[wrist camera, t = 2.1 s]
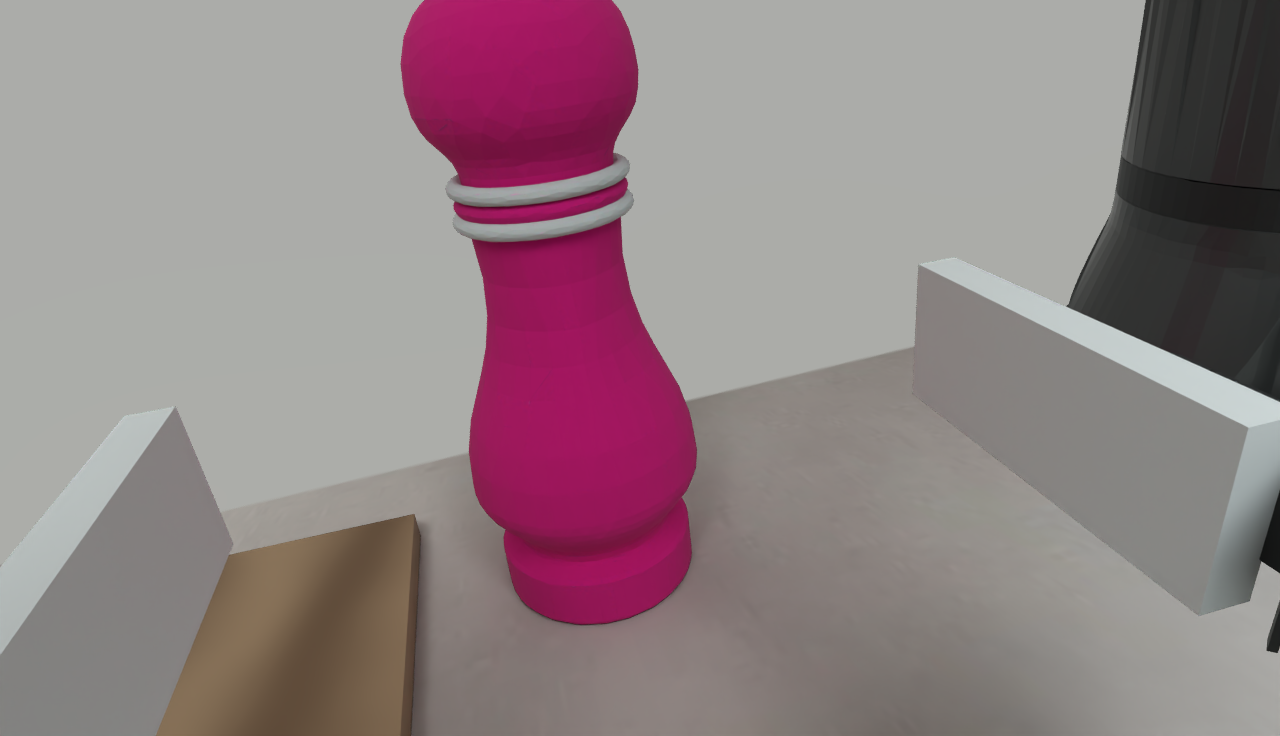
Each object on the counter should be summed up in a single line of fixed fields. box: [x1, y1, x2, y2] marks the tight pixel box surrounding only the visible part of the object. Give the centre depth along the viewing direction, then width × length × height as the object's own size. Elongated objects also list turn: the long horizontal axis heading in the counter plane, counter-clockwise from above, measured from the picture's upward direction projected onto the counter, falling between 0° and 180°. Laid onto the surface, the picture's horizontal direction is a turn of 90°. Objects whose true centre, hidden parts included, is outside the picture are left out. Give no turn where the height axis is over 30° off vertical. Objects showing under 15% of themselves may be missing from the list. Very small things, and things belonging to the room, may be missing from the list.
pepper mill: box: [401, 0, 697, 625], centre depth 22 cm, size 7×7×20 cm
